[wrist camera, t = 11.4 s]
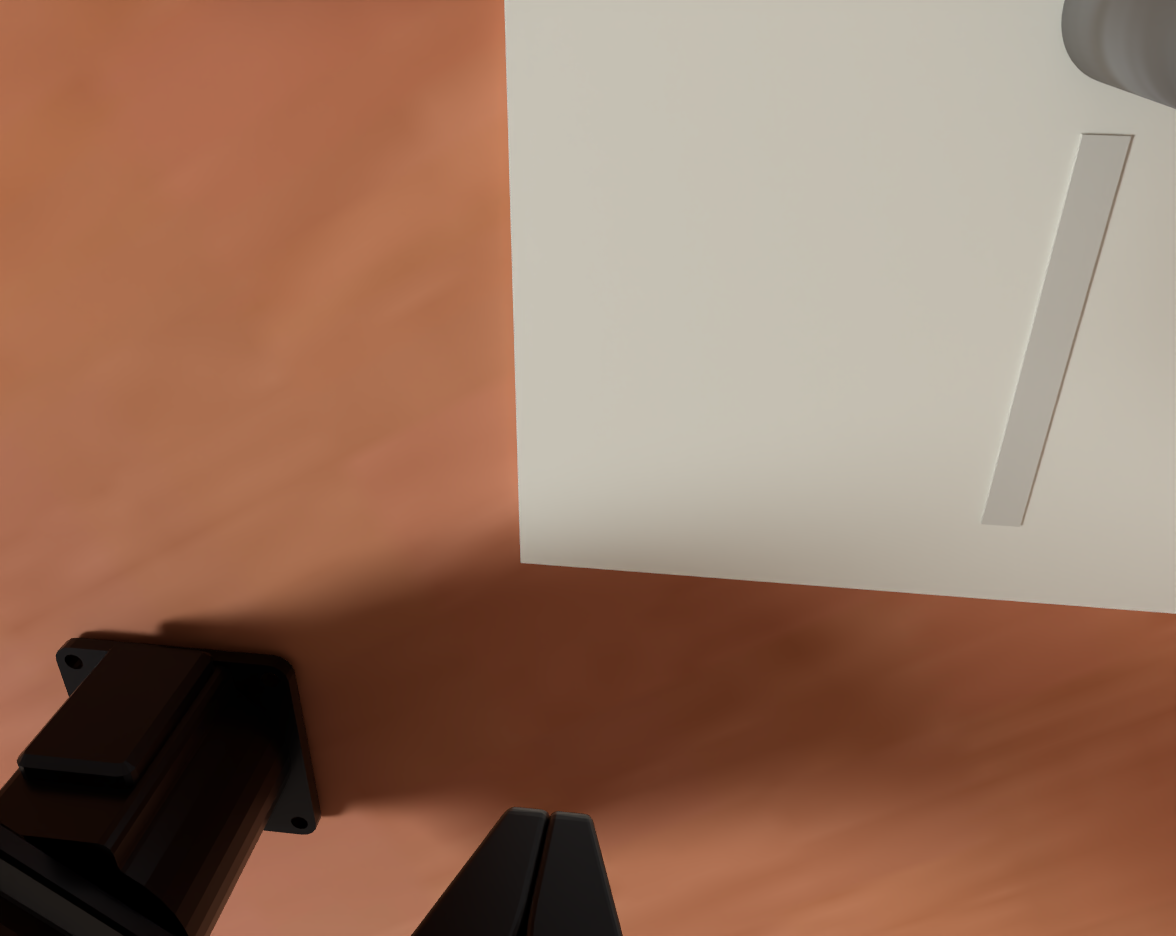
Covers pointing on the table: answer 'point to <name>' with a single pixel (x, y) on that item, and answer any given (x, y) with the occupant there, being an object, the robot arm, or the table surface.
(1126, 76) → the fence section
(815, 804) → the table surface
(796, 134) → the card
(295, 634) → the table surface
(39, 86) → the table surface
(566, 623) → the table surface
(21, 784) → the robot arm
